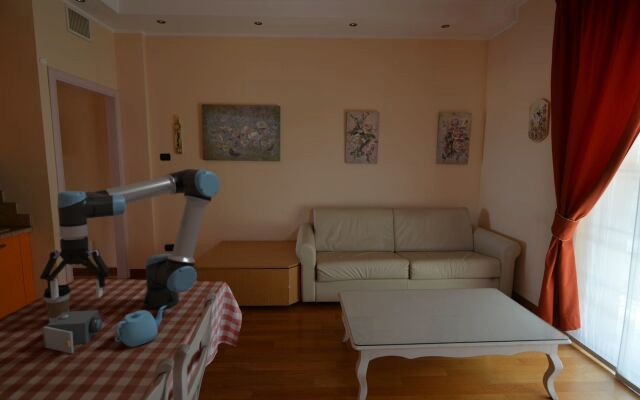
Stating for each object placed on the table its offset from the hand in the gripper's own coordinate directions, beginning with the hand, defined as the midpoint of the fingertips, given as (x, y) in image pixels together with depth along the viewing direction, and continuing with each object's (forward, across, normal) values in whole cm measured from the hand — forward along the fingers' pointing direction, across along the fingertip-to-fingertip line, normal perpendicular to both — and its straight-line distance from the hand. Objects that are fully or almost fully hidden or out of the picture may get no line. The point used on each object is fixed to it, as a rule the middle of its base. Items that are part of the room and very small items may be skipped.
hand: (77, 297), depth 110 cm
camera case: (+19, +5, -8) cm, 21 cm away
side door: (+19, +7, 0) cm, 20 cm away
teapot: (+19, -18, -5) cm, 27 cm away
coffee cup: (+19, +18, -21) cm, 34 cm away
